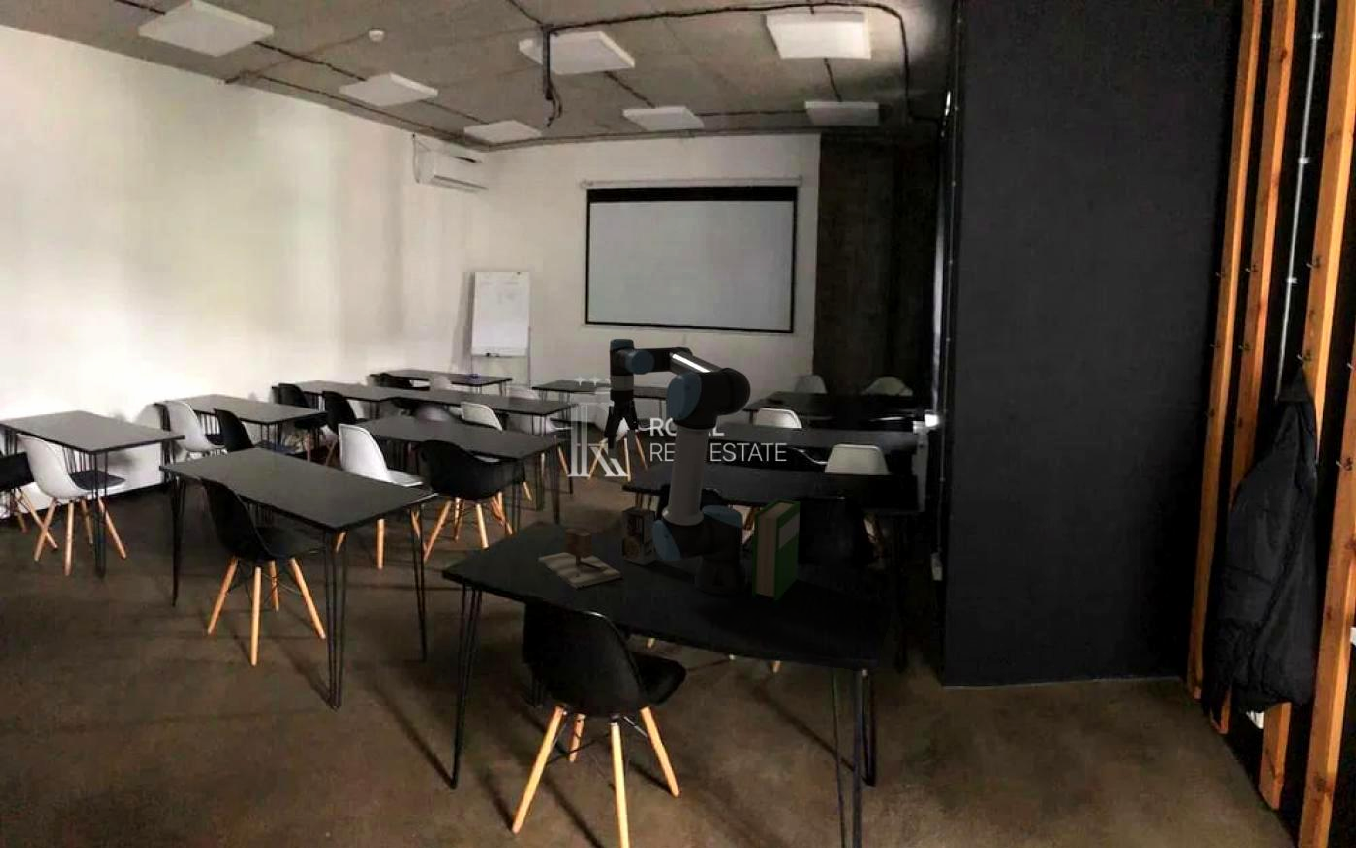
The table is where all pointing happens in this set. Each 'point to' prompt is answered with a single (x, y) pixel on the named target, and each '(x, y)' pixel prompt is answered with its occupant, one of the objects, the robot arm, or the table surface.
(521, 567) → the table surface
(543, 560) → the striped wooden board
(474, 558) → the table surface
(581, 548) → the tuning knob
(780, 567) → the hardback book
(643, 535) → the coffee box
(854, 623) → the table surface
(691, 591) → the table surface
